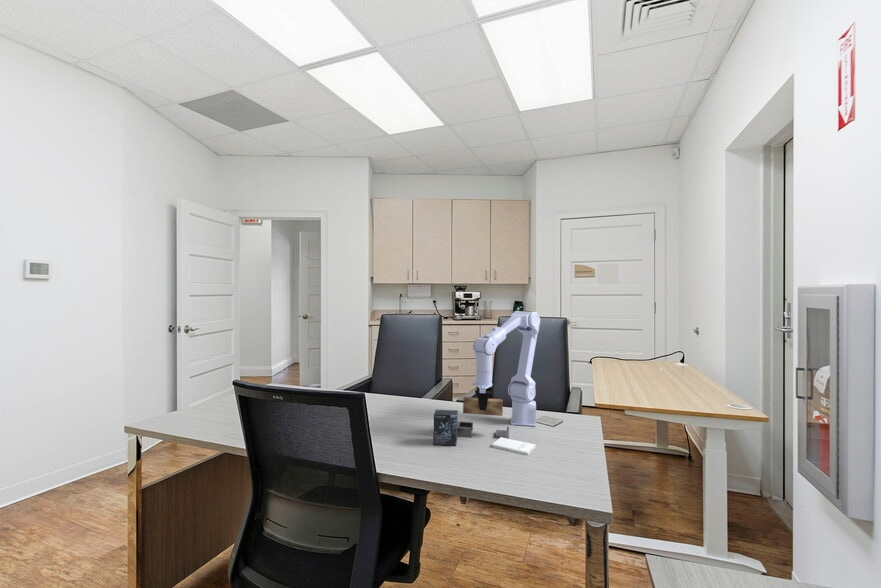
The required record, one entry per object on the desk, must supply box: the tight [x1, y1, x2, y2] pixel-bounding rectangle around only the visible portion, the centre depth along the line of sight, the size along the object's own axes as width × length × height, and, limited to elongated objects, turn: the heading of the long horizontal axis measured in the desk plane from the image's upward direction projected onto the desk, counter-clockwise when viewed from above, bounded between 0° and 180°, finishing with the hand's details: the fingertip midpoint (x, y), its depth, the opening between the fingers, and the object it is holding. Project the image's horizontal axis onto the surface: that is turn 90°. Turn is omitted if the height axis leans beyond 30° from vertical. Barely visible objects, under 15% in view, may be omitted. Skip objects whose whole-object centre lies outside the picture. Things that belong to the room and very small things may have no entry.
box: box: [432, 409, 459, 447], centre depth 141 cm, size 8×6×11 cm
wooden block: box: [462, 396, 504, 417], centre depth 149 cm, size 14×4×5 cm, turn 80°
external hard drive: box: [491, 437, 537, 456], centre depth 138 cm, size 2×8×12 cm
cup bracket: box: [457, 420, 474, 438], centre depth 151 cm, size 6×8×3 cm
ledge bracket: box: [495, 426, 510, 439], centre depth 148 cm, size 4×6×2 cm
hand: (483, 408), depth 149 cm, fingers closed on wooden block, 3 cm apart
